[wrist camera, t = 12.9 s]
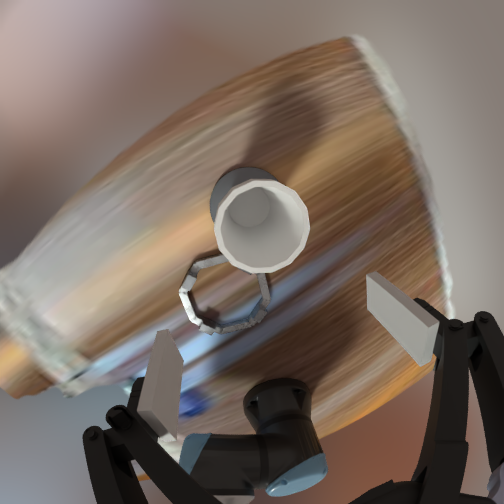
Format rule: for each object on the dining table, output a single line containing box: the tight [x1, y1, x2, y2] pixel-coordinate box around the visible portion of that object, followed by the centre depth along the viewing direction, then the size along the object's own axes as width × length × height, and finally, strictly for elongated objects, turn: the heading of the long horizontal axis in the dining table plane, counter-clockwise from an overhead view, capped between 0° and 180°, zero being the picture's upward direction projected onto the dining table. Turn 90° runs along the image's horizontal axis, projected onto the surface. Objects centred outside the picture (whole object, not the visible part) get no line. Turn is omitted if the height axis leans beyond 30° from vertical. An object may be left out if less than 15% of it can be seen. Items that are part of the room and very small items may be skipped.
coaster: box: [210, 167, 278, 222], centre depth 39 cm, size 11×11×1 cm
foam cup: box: [214, 179, 310, 273], centre depth 32 cm, size 10×9×13 cm
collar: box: [179, 253, 271, 335], centre depth 42 cm, size 14×14×2 cm
